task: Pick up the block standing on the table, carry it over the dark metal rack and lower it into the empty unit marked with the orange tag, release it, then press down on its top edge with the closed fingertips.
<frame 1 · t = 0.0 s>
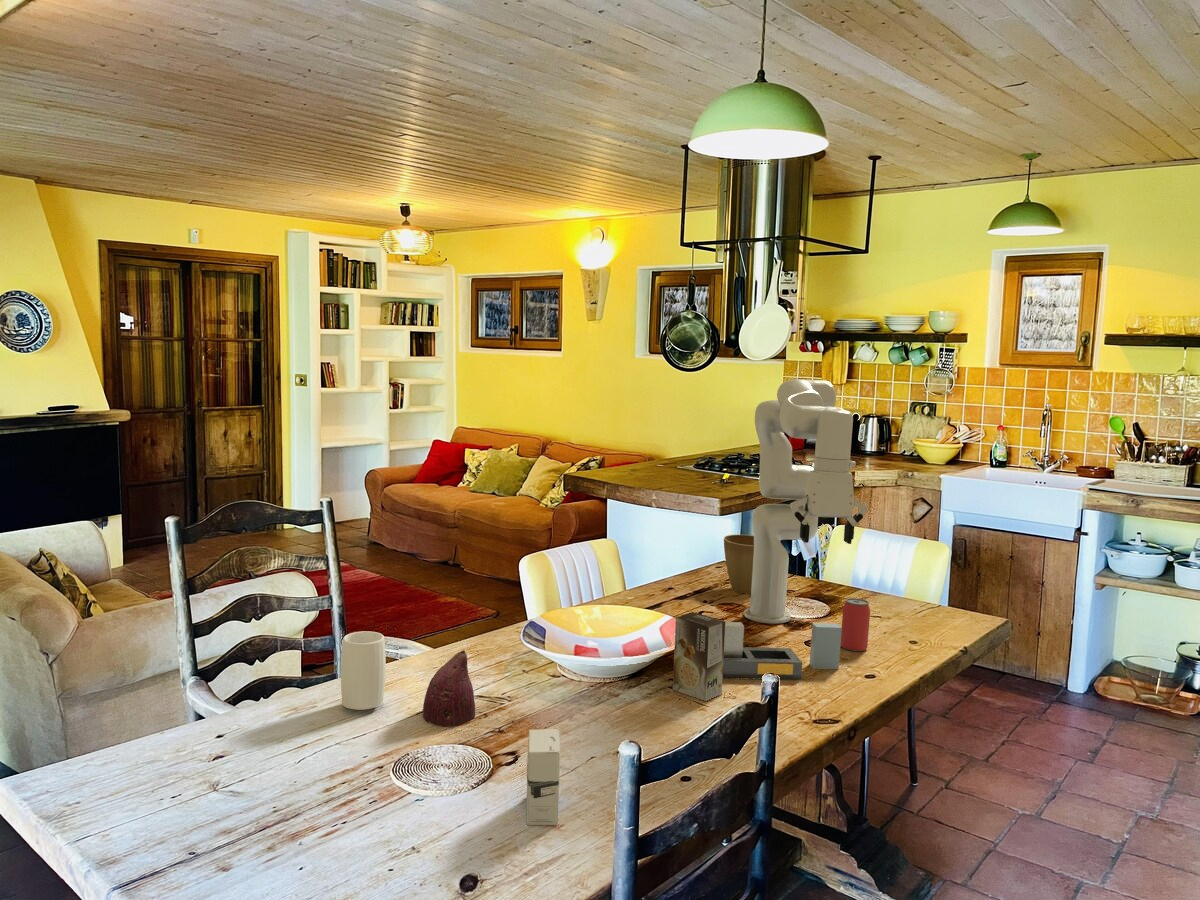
hand: (826, 542, 200), 31 cm above the table, tool pointing down, fingers open, 9 cm apart
rack: (747, 671, 206), on the table
coffee box: (696, 693, 192), on the table
vegetable: (448, 716, 175), on the table
beer can: (853, 648, 226), on the table
block: (823, 666, 211), on the table
plant pot: (745, 591, 275), on the table
ink box: (541, 812, 140), on the table
cup: (362, 708, 176), on the table
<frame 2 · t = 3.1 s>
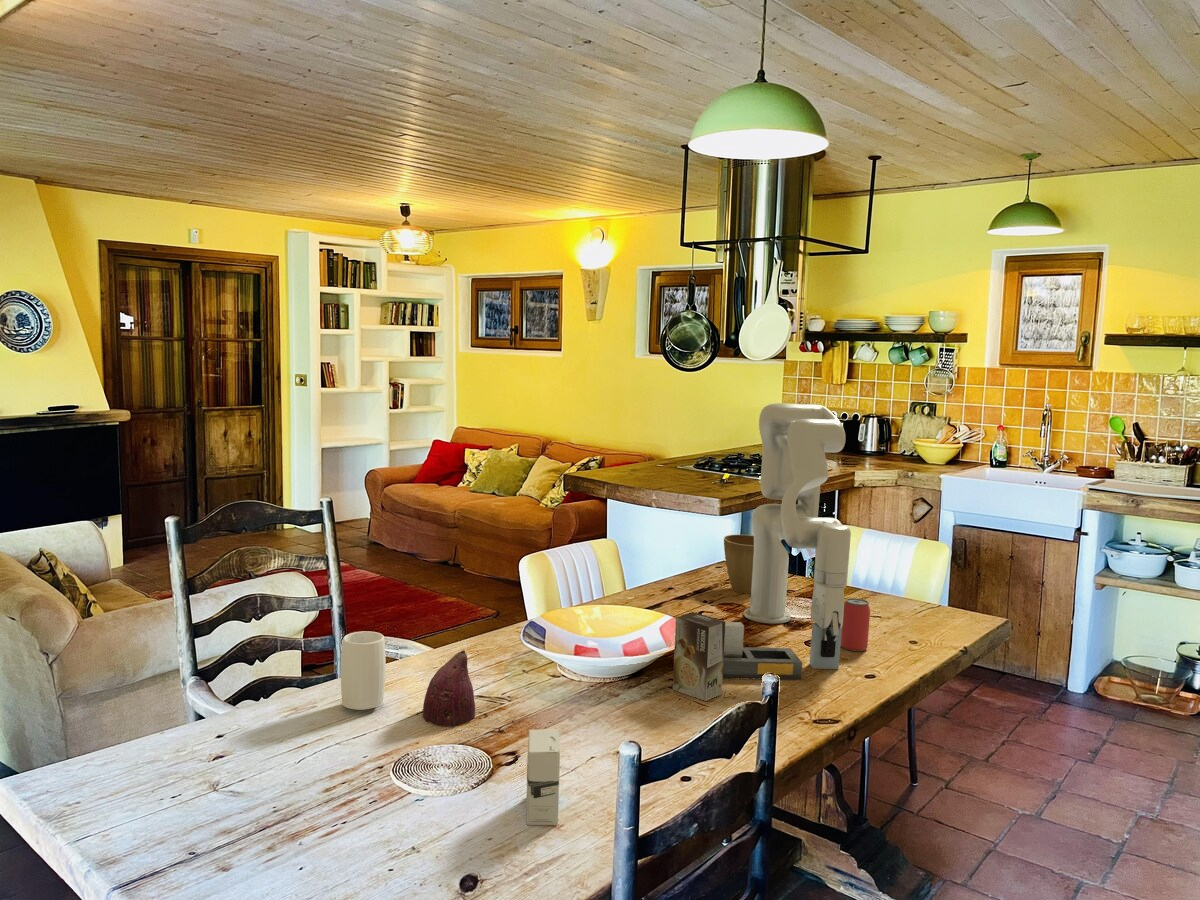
hand: (825, 653, 211), 3 cm above the table, tool pointing down, fingers closed on block, 3 cm apart
block: (823, 666, 211), on the table, touching gripper
everything else where it was.
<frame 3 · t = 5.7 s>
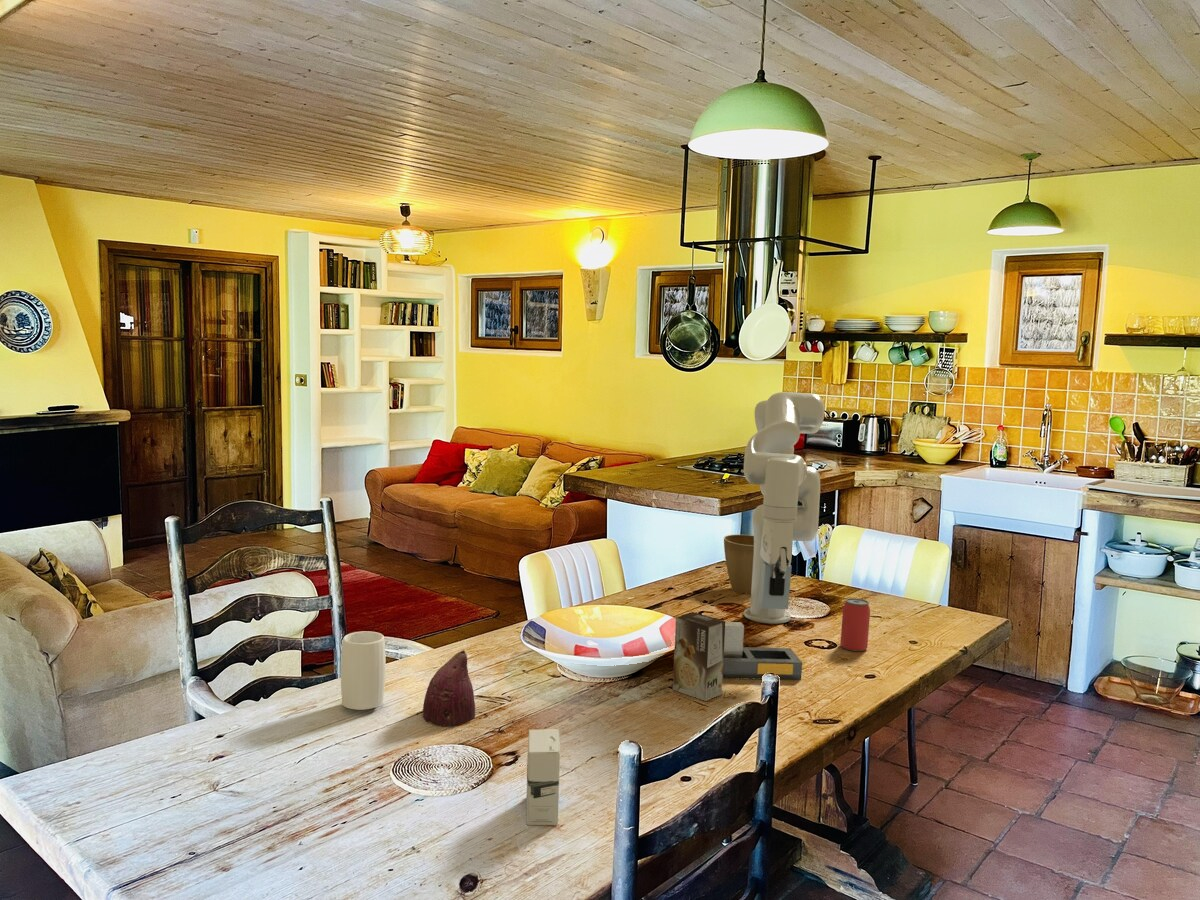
hand: (774, 592, 204), 19 cm above the table, tool pointing down, fingers closed on block, 3 cm apart
block: (773, 606, 204), point 15 cm above the table, touching gripper
everything else where it was.
when the fingers open (6 cm above the table, at t = 8.1 s): block drops 2 cm, resting on rack.
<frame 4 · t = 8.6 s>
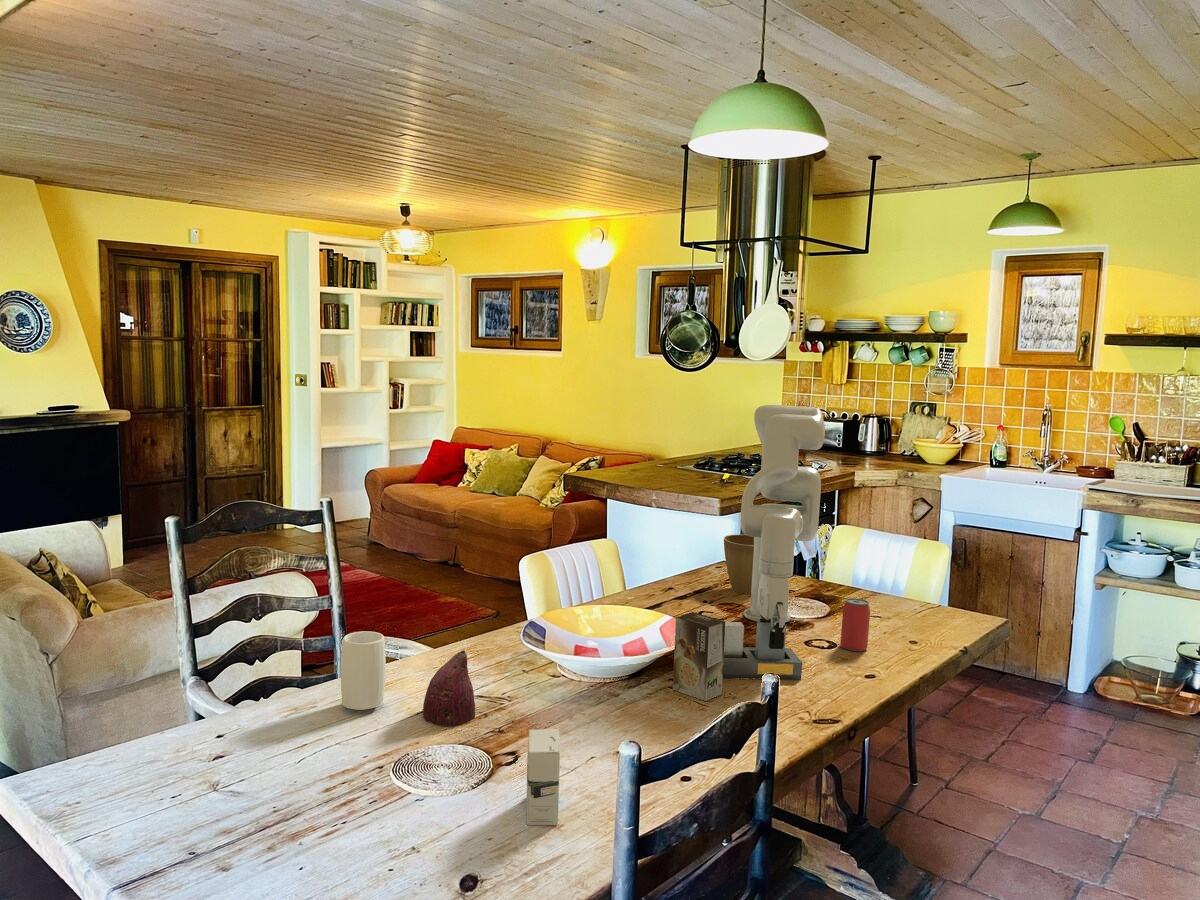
hand: (771, 641, 205), 7 cm above the table, tool pointing down, fingers open, 8 cm apart
block: (768, 667, 206), point 1 cm above the table, touching rack
everything else where it was.
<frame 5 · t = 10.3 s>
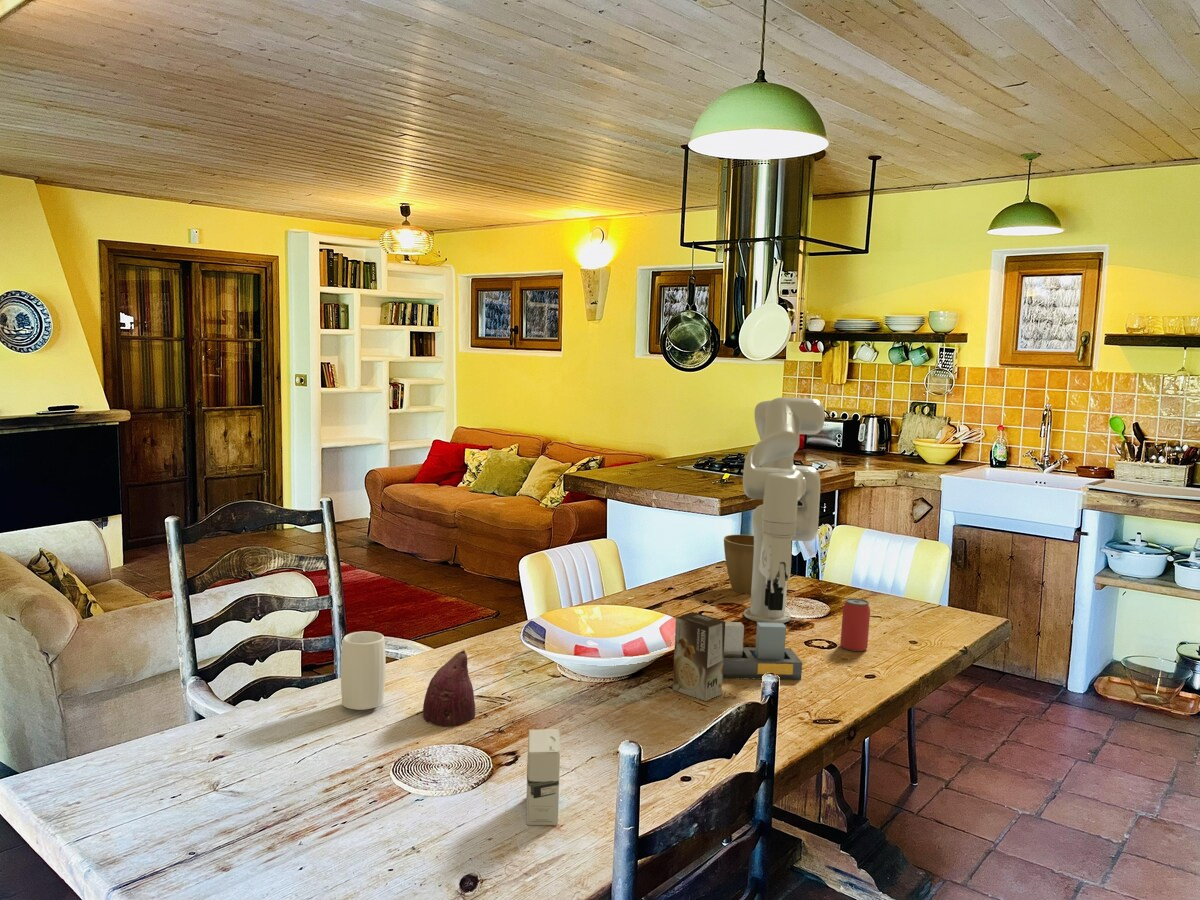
hand: (773, 607, 204), 15 cm above the table, tool pointing down, fingers closed
nothing on the table moved.
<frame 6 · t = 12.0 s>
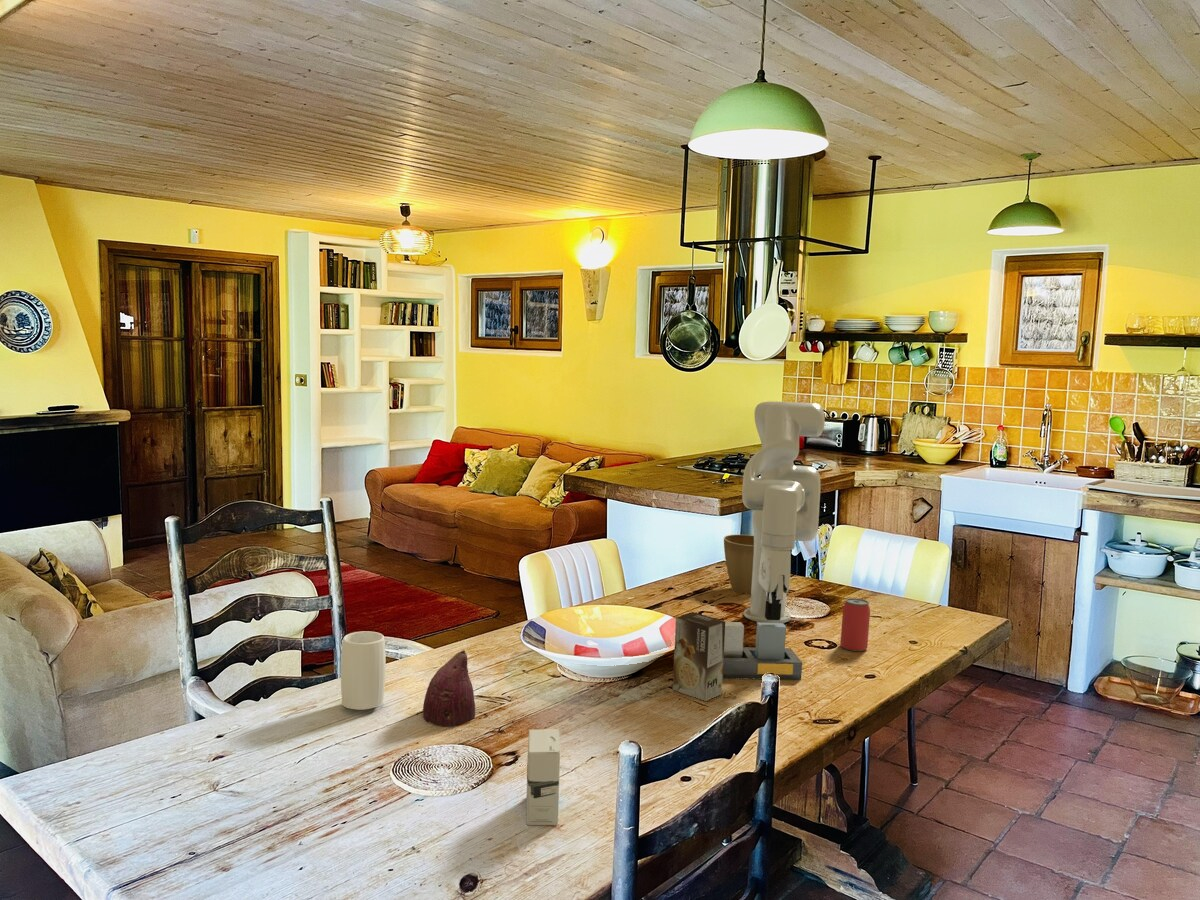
hand: (772, 618, 205), 12 cm above the table, tool pointing down, fingers closed
nothing on the table moved.
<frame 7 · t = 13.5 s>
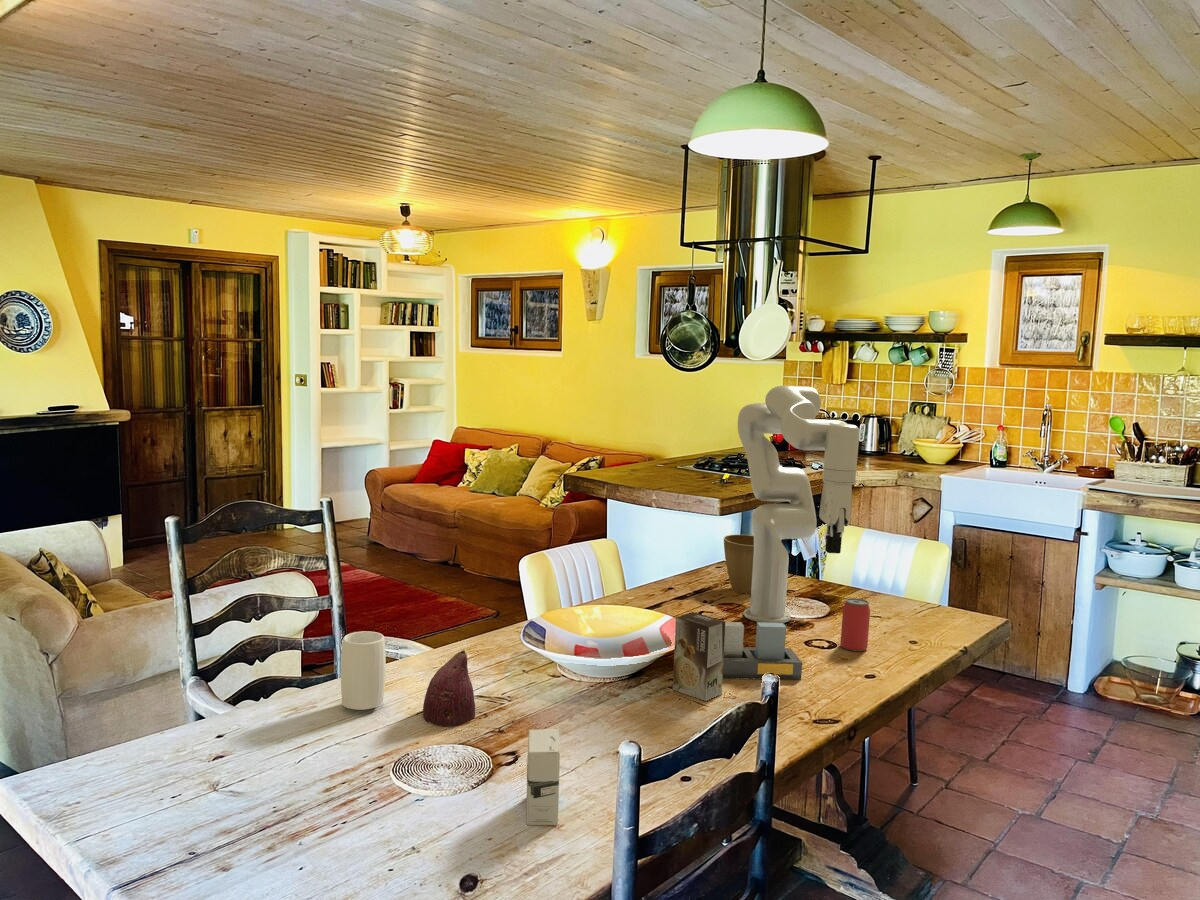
hand: (832, 552, 214), 26 cm above the table, tool pointing down, fingers closed
nothing on the table moved.
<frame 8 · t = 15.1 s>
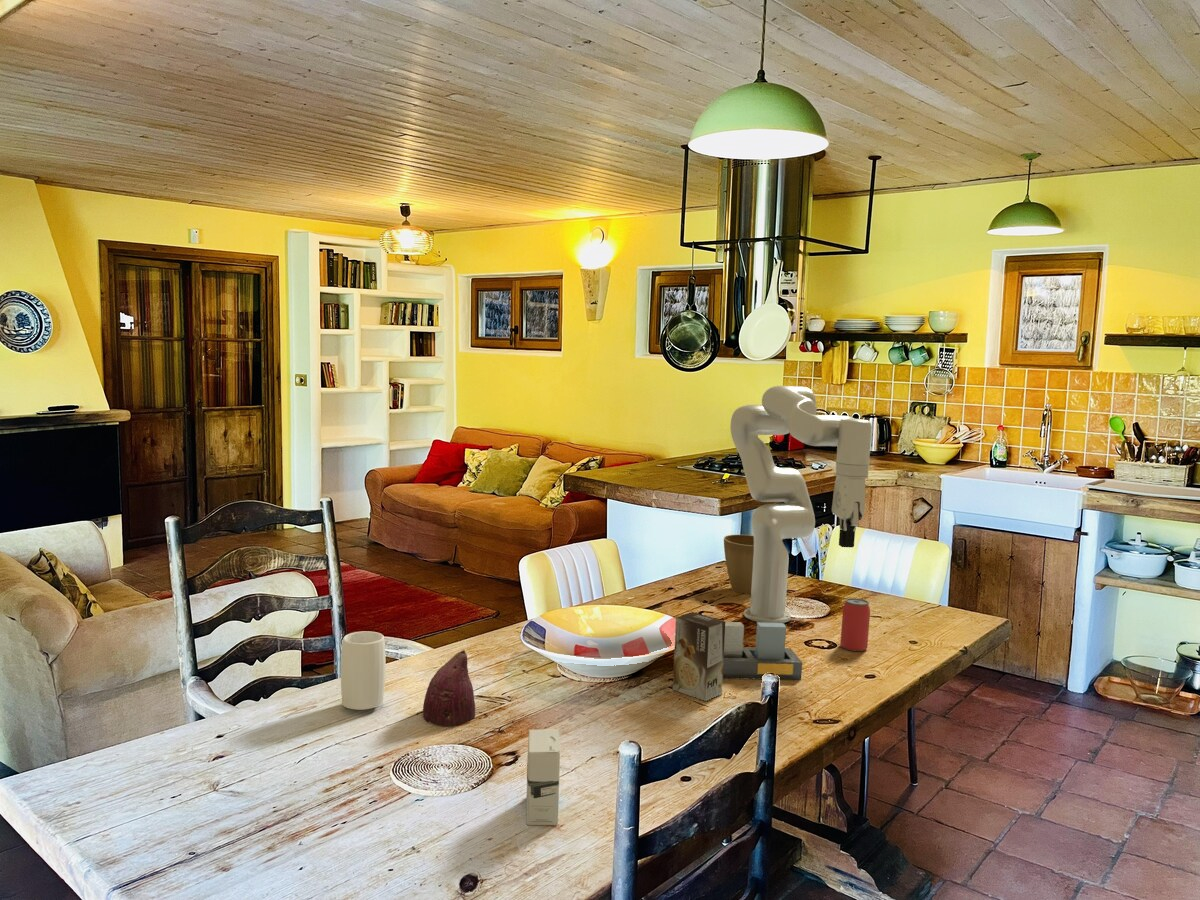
hand: (846, 546, 216), 27 cm above the table, tool pointing down, fingers closed
nothing on the table moved.
at the end: block 0.2 cm from the target spot on the rack, point 1.0 cm above the rack's base; block tilted 0°; the gripper is holding nothing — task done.
